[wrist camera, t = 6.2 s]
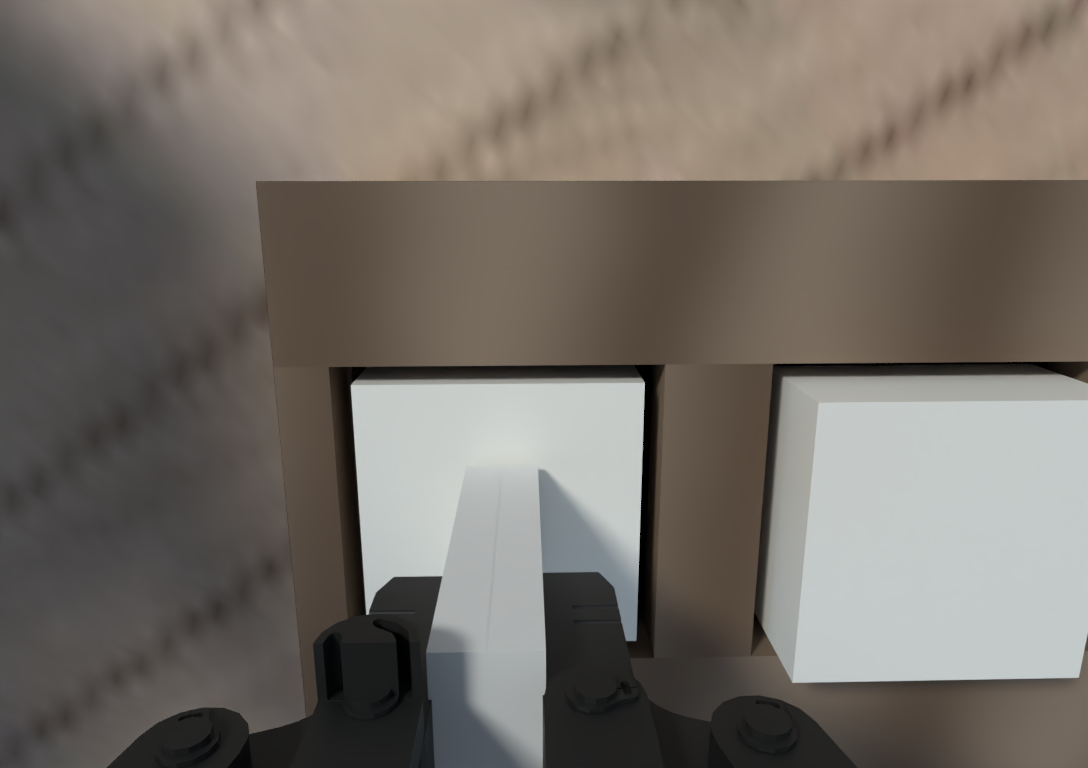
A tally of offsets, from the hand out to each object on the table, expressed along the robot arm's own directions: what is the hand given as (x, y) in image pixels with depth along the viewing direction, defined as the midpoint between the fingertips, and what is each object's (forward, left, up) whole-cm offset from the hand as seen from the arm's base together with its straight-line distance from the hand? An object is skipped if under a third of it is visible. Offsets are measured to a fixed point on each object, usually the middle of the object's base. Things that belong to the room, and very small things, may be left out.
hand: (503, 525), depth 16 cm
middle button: (+9, 0, -2) cm, 9 cm away
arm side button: (0, 0, -3) cm, 3 cm away
